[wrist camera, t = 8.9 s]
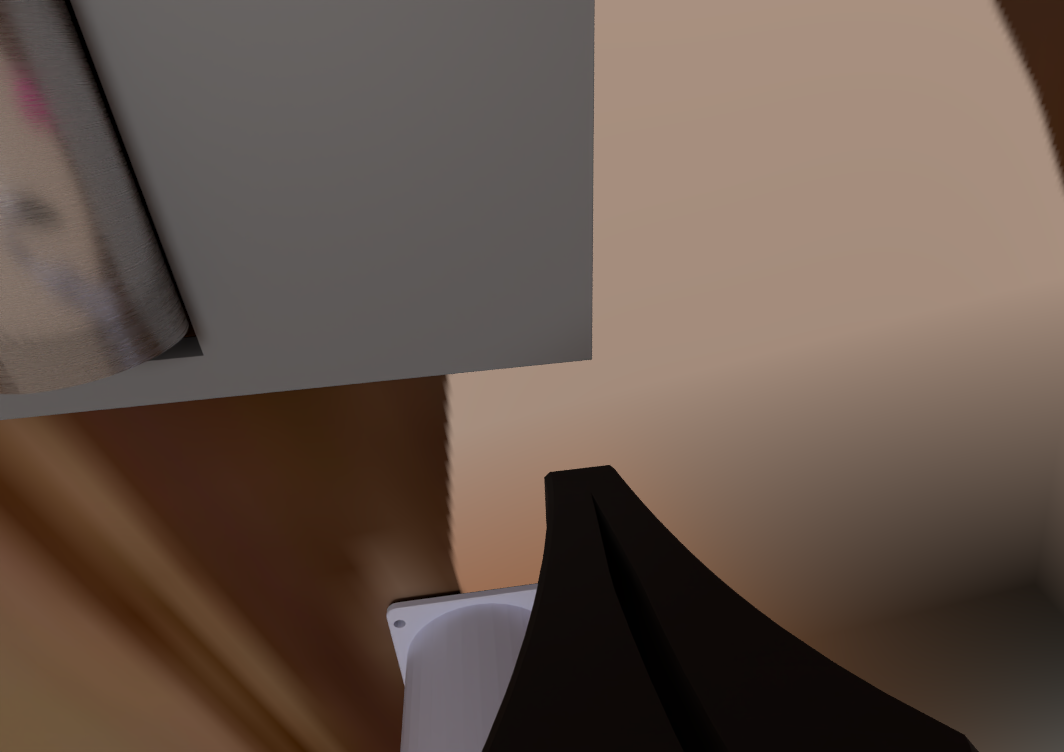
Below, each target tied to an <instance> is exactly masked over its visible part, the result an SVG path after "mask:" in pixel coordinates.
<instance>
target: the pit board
mask: <svg viewBox="0 0 1064 752" xmlns="http://www.w3.org/2000/svg"><path fill="white" fill-rule="evenodd" d="M70 1H71V4H72V7H73V9H74V12H75V15H76V17H77V20H78V23H79V25H80V28H81V31H82V33H83V36H84V39H85V41H86V44H87V47H88V49H89V52H90V55H91V57H92V60H93V63H94V65H95V68H96V71H97V73H98V76H99V79H100V81H101V84H102V87H103V89H104V92H105V95H106V97H107V100H108V102H109V105H110V108H111V110H112V113H113V116H114V118H115V121H116V124H117V126H118V129H119V132H120V134H121V137H122V140H123V142H124V145H125V148H126V150H127V153H128V156H129V158H130V161H131V164H132V166H133V169H134V172H135V174H136V177H137V180H138V182H139V185H140V188H141V190H142V193H143V196H144V198H145V201H146V203H147V206H148V209H149V211H150V214H151V217H152V219H153V222H154V225H155V227H156V230H157V233H158V235H159V238H160V241H161V243H162V246H163V249H164V251H165V254H166V257H167V259H168V262H169V265H170V267H171V270H172V273H173V275H174V278H175V281H176V283H177V286H178V289H179V291H180V294H181V297H182V299H183V302H184V304H185V307H186V310H187V312H188V315H189V318H190V320H191V323H192V326H193V328H194V331H195V334H196V336H197V337H188V338H182V339H181V340H180V341H179V342H178V343H176V344H175V345H174V346H173V347H171V348H170V349H168V350H167V351H165V352H164V353H162V354H160V355H158V356H156V357H155V358H153V359H151V360H149V361H146V362H144V363H142V364H140V365H138V366H135V367H133V368H131V369H128V370H126V371H123V372H120V373H117V374H115V375H112V376H109V377H105V378H102V379H99V380H96V381H92V382H89V383H85V384H81V385H77V386H72V387H68V388H63V389H58V390H52V391H46V392H39V393H29V394H0V420H5V419H14V418H24V417H34V416H44V415H54V414H63V413H73V412H83V411H93V410H102V409H112V408H122V407H132V406H142V405H151V404H161V403H171V402H181V401H190V400H200V399H210V398H220V397H230V396H239V395H249V394H259V393H269V392H279V391H288V390H298V389H308V388H318V387H327V386H337V385H347V384H357V383H367V382H376V381H386V380H396V379H406V378H415V377H425V376H435V375H445V374H455V373H464V372H474V371H484V370H493V369H503V368H513V367H523V366H532V365H543V364H552V363H562V362H572V361H582V360H591V359H592V271H593V267H592V265H593V256H592V255H593V134H594V133H593V132H594V130H593V129H594V128H593V127H594V0H70Z"/></svg>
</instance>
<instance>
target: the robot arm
mask: <svg viewBox="0 0 1064 752" xmlns="http://www.w3.org/2000/svg"><path fill="white" fill-rule="evenodd" d="M544 479H545V501H546V523H547V530H546V539H545V547H544V554H543V561H542V566H541V570H540V575H539V581H538V583H536V584H529V585H522V586H514V587H507V588H500V589H493V590H485V591H478V592H470V593H463V594H456V595H448V596H441V597H433V598H426V599H419V600H411V601H404V602H397V603H393V604H391V605H390V606H389V607H388V608H387V621H388V625H389V628H390V632H391V636H392V640H393V644H394V647H395V651H396V655H397V659H398V662H399V666H400V670H401V674H402V678H403V681H404V685H405V692H404V707H403V722H402V737H401V752H978V750H977V749H976V748H975V747H974V746H973V745H972V743H971V742H970V741H969V740H968V739H967V737H966V736H965V735H964V734H962V733H960V732H958V731H956V730H954V729H952V728H950V727H949V726H947V725H945V724H943V723H941V722H939V721H937V720H935V719H933V718H932V717H930V716H928V715H926V714H924V713H922V712H920V711H918V710H916V709H914V708H913V707H911V706H909V705H907V704H905V703H903V702H901V701H899V700H897V699H896V698H894V697H892V696H890V695H888V694H886V693H885V692H883V691H881V690H879V689H878V688H876V687H874V686H872V685H871V684H869V683H868V682H866V681H864V680H863V679H861V678H859V677H857V676H856V675H854V674H852V673H851V672H849V671H847V670H846V669H844V668H842V667H841V666H839V665H837V664H836V663H834V662H833V661H831V660H830V659H828V658H827V657H825V656H824V655H822V654H821V653H819V652H818V651H816V650H815V649H813V648H812V647H810V646H809V645H807V644H806V643H804V642H803V641H801V640H800V639H798V638H797V637H795V636H794V635H792V634H791V633H789V632H788V631H786V630H785V629H783V628H782V627H780V626H779V625H778V624H776V623H775V622H774V621H772V620H771V619H770V618H768V617H767V616H766V615H764V614H763V613H762V612H760V611H759V610H757V609H756V608H755V607H754V606H753V605H751V604H750V603H749V602H747V601H746V600H745V599H744V598H742V597H741V596H740V595H739V594H737V593H736V592H735V591H734V590H733V589H731V588H730V587H729V586H728V585H727V584H725V583H724V582H723V581H722V580H721V579H720V578H718V577H717V576H716V575H715V574H714V573H713V572H712V571H710V570H709V569H708V568H707V567H706V566H705V565H704V564H703V563H702V562H700V560H698V559H697V558H696V557H695V556H694V555H693V554H692V553H691V552H690V551H689V550H688V549H687V548H686V547H685V546H684V545H683V544H682V543H681V542H680V541H679V540H678V539H677V538H676V537H675V536H674V535H673V534H672V533H671V532H670V531H669V530H668V529H667V528H666V527H665V526H664V525H663V524H662V523H661V522H660V521H659V520H658V519H657V518H656V517H655V516H654V515H653V513H652V512H651V511H650V510H649V509H648V508H647V507H646V506H645V505H644V504H643V502H642V501H641V500H640V499H639V498H638V497H637V495H636V494H635V493H634V492H633V491H632V490H631V488H630V487H629V486H628V485H627V484H626V483H625V481H624V480H623V479H622V478H621V476H620V475H619V474H618V473H617V471H616V470H615V469H614V468H613V467H611V466H610V465H606V466H597V467H589V468H580V469H572V470H564V471H556V472H550V473H548V474H547V475H546V476H545V477H544Z"/></svg>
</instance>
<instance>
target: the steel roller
mask: <svg viewBox="0 0 1064 752" xmlns="http://www.w3.org/2000/svg"><path fill="white" fill-rule="evenodd" d="M188 329H189V322H188V319H187V317H186V314H185V312H184V309H183V306H182V304H181V301H180V299H179V296H178V293H177V291H176V288H175V286H174V283H173V281H172V278H171V275H170V273H169V270H168V268H167V265H166V262H165V260H164V257H163V255H162V252H161V249H160V247H159V244H158V242H157V239H156V236H155V234H154V231H153V229H152V226H151V223H150V221H149V218H148V216H147V213H146V210H145V208H144V205H143V203H142V200H141V197H140V195H139V192H138V190H137V187H136V184H135V182H134V179H133V177H132V174H131V172H130V169H129V166H128V164H127V161H126V159H125V156H124V153H123V151H122V148H121V146H120V143H119V140H118V138H117V135H116V133H115V130H114V127H113V125H112V122H111V120H110V117H109V114H108V112H107V109H106V107H105V104H104V101H103V99H102V96H101V94H100V91H99V88H98V86H97V83H96V81H95V78H94V75H93V73H92V70H91V68H90V65H89V63H88V60H87V57H86V55H85V52H84V50H83V47H82V44H81V42H80V39H79V37H78V34H77V31H76V29H75V26H74V24H73V21H72V18H71V16H70V13H69V11H68V8H67V5H66V3H65V0H0V394H29V393H39V392H46V391H52V390H58V389H63V388H68V387H72V386H77V385H81V384H85V383H89V382H92V381H96V380H99V379H102V378H105V377H109V376H112V375H115V374H117V373H120V372H123V371H126V370H128V369H131V368H133V367H135V366H138V365H140V364H142V363H144V362H146V361H149V360H151V359H153V358H155V357H156V356H158V355H160V354H162V353H164V352H165V351H167V350H168V349H170V348H171V347H173V346H174V345H175V344H176V343H178V342H179V341H180V340H181V339H182V338H183V337H184V336H185V334H186V333H187V331H188Z"/></svg>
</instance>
